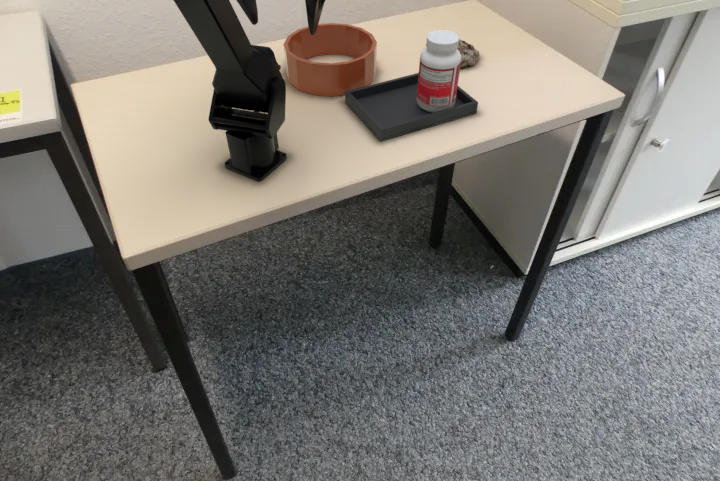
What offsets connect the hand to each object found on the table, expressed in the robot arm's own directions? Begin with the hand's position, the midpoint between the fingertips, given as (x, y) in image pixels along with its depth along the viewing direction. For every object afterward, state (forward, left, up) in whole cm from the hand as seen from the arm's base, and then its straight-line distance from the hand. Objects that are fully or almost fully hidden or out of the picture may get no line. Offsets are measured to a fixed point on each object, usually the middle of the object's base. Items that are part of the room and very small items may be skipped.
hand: (283, 28), depth 75 cm
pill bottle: (+12, -19, -13) cm, 26 cm away
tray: (+10, -16, -13) cm, 23 cm away
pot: (+13, +1, -13) cm, 18 cm away
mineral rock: (+30, -15, -13) cm, 36 cm away
